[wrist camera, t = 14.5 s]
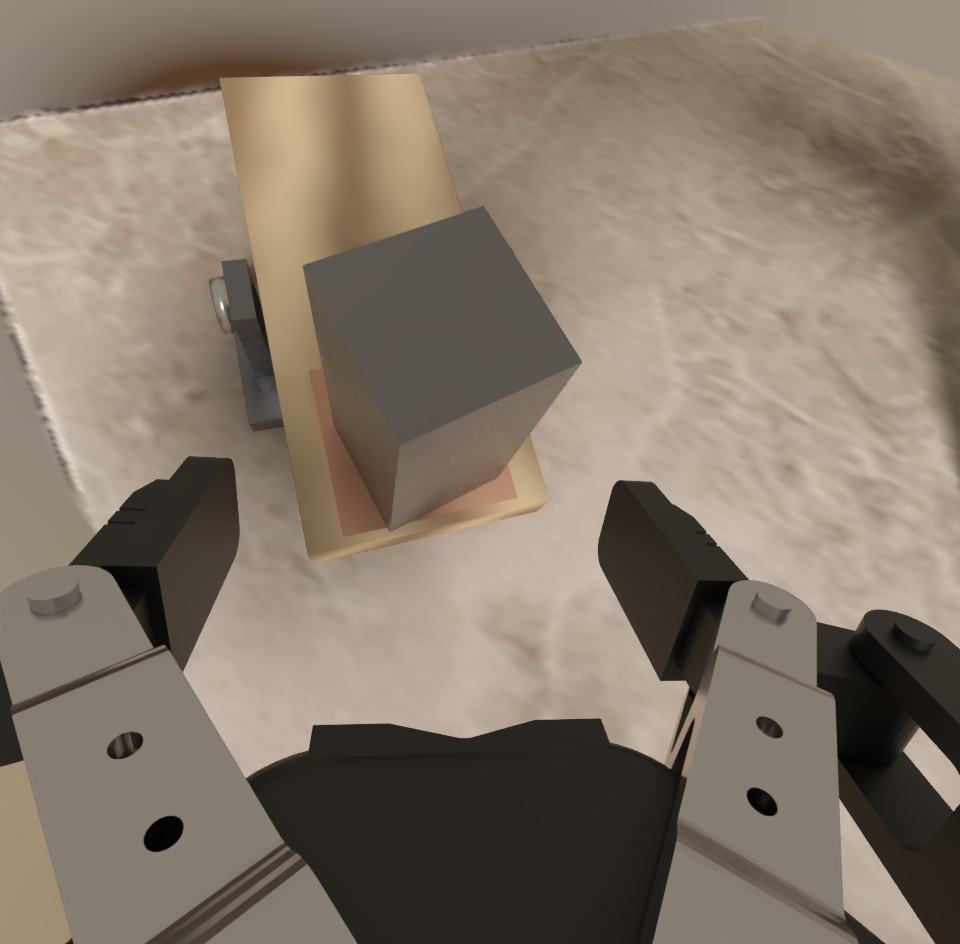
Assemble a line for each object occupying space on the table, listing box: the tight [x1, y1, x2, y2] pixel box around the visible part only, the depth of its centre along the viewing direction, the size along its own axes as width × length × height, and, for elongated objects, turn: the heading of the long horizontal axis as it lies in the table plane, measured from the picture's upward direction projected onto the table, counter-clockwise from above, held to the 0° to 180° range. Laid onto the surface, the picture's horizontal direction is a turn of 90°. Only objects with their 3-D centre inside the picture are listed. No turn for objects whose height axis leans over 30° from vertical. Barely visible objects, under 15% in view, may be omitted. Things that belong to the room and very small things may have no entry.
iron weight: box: [302, 206, 582, 532], centre depth 18 cm, size 5×5×10 cm
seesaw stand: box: [209, 248, 515, 431], centre depth 28 cm, size 14×8×6 cm, turn 105°
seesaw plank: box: [220, 74, 550, 563], centre depth 26 cm, size 10×24×2 cm, turn 15°
